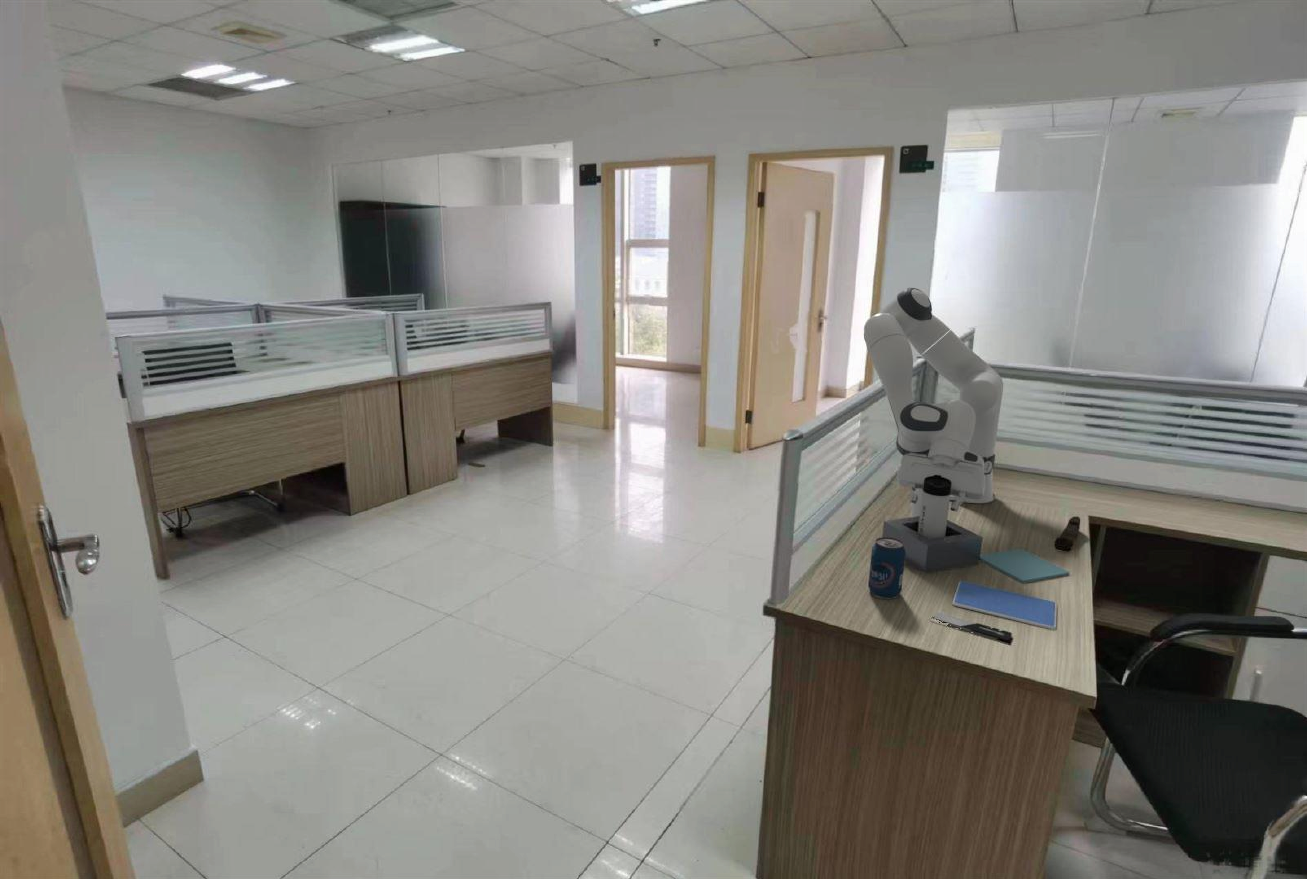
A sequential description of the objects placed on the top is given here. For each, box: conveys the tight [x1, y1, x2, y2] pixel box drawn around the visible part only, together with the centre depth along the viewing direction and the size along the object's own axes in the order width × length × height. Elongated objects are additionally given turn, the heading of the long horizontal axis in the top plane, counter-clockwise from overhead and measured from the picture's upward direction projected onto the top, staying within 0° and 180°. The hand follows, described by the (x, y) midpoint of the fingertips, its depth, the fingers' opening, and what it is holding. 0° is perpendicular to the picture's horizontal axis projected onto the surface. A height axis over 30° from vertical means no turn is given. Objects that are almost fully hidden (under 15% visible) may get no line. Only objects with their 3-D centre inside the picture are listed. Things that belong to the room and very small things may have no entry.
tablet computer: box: [951, 580, 1058, 631], centre depth 145 cm, size 19×13×1 cm, turn 60°
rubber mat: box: [979, 548, 1070, 584], centre depth 163 cm, size 14×14×1 cm
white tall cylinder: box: [909, 488, 923, 518], centre depth 190 cm, size 7×7×15 cm
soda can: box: [868, 537, 906, 599], centre depth 148 cm, size 7×7×12 cm
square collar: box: [881, 516, 983, 574], centre depth 168 cm, size 16×16×7 cm
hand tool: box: [1053, 516, 1081, 553], centre depth 178 cm, size 19×4×5 cm, turn 138°
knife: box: [930, 611, 1014, 646], centre depth 136 cm, size 15×1×4 cm
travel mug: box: [918, 475, 952, 539], centre depth 166 cm, size 6×7×20 cm
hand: (932, 505), depth 166 cm, fingers open, 8 cm apart
